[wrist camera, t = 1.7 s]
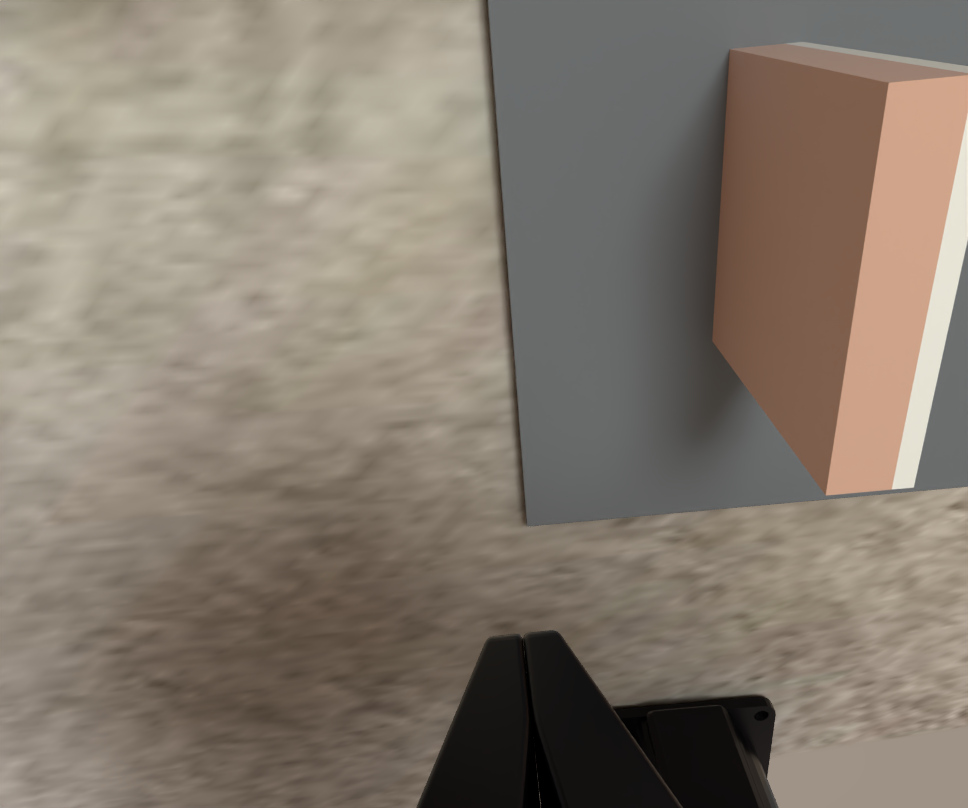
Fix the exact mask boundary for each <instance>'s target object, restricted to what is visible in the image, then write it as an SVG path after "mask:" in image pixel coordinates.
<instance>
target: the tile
mask: <svg viewBox="0 0 968 808" xmlns="http://www.w3.org/2000/svg"><path fill="white" fill-rule="evenodd" d="M967 241H968V66H963V65H956V64H950V63H943V62H936V61H929V60H923V59H916V58H909V57H902V56H895V55H889V54H882V53H875V52H868V51H861V50H855V49H848V48H841V47H834V46H827V45H821V44H814V43H807V42H796V43H786V44H776V45H766V46H755V47H745V48H735V49H730V54H729V70H728V87H727V104H726V120H725V137H724V154H723V170H722V187H721V204H720V220H719V237H718V254H717V270H716V287H715V304H714V320H713V337H712V341H713V343H714V344H715V346H716V347H717V348H718V350H719V351H720V352H721V354H722V355H723V356H724V358H725V359H726V360H727V362H728V363H729V365H730V366H731V367H732V369H733V370H734V371H735V373H736V374H737V375H738V377H739V378H740V380H741V381H742V382H743V384H744V385H745V386H746V388H747V389H748V390H749V392H750V393H751V395H752V396H753V397H754V399H755V400H756V401H757V403H758V404H759V405H760V407H761V408H762V409H763V411H764V412H765V414H766V415H767V416H768V418H769V419H770V420H771V422H772V423H773V424H774V426H775V427H776V429H777V430H778V431H779V433H780V434H781V435H782V437H783V438H784V439H785V441H786V442H787V443H788V445H789V446H790V448H791V449H792V450H793V452H794V453H795V454H796V456H797V457H798V458H799V460H800V461H801V463H802V464H803V465H804V467H805V468H806V469H807V471H808V472H809V473H810V475H811V476H812V478H813V479H814V480H815V482H816V483H817V484H818V486H819V487H820V488H821V490H822V491H823V492H824V494H825V495H837V494H848V493H859V492H870V491H881V490H892V489H903V488H914V484H915V479H916V475H917V470H918V466H919V461H920V456H921V452H922V447H923V443H924V438H925V434H926V429H927V424H928V420H929V415H930V411H931V406H932V401H933V397H934V392H935V388H936V383H937V379H938V374H939V369H940V365H941V360H942V356H943V351H944V346H945V342H946V337H947V333H948V328H949V324H950V319H951V314H952V310H953V305H954V301H955V296H956V291H957V287H958V282H959V278H960V273H961V269H962V264H963V259H964V255H965V250H966V246H967Z"/></svg>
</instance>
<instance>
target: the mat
mask: <svg viewBox="0 0 968 808" xmlns="http://www.w3.org/2000/svg"><path fill="white" fill-rule="evenodd" d="M487 5H488V19H489V32H490V45H491V59H492V72H493V85H494V98H495V112H496V125H497V138H498V152H499V165H500V178H501V191H502V205H503V218H504V231H505V245H506V258H507V271H508V284H509V298H510V311H511V324H512V338H513V351H514V364H515V378H516V391H517V404H518V417H519V431H520V444H521V457H522V471H523V484H524V497H525V510H526V520H527V526H538V525H549V524H560V523H571V522H582V521H593V520H604V519H616V518H627V517H638V516H649V515H660V514H671V513H682V512H693V511H704V510H715V509H726V508H737V507H748V506H759V505H770V504H781V503H792V502H803V501H814V500H825V499H836V498H847V497H858V496H869V495H880V494H891V493H902V492H913V491H924V490H935V489H946V488H957V487H968V241H967V246H966V250H965V255H964V259H963V264H962V269H961V273H960V278H959V282H958V287H957V291H956V296H955V301H954V305H953V310H952V314H951V319H950V324H949V328H948V333H947V337H946V342H945V346H944V351H943V356H942V360H941V365H940V369H939V374H938V379H937V383H936V388H935V392H934V397H933V401H932V406H931V411H930V415H929V420H928V424H927V429H926V434H925V438H924V443H923V447H922V452H921V456H920V461H919V466H918V470H917V475H916V479H915V484H914V488H903V489H892V490H881V491H870V492H859V493H848V494H837V495H825V494H824V492H823V491H822V490H821V488H820V487H819V486H818V484H817V483H816V482H815V480H814V479H813V478H812V476H811V475H810V473H809V472H808V471H807V469H806V468H805V467H804V465H803V464H802V463H801V461H800V460H799V458H798V457H797V456H796V454H795V453H794V452H793V450H792V449H791V448H790V446H789V445H788V443H787V442H786V441H785V439H784V438H783V437H782V435H781V434H780V433H779V431H778V430H777V429H776V427H775V426H774V424H773V423H772V422H771V420H770V419H769V418H768V416H767V415H766V414H765V412H764V411H763V409H762V408H761V407H760V405H759V404H758V403H757V401H756V400H755V399H754V397H753V396H752V395H751V393H750V392H749V390H748V389H747V388H746V386H745V385H744V384H743V382H742V381H741V380H740V378H739V377H738V375H737V374H736V373H735V371H734V370H733V369H732V367H731V366H730V365H729V363H728V362H727V360H726V359H725V358H724V356H723V355H722V354H721V352H720V351H719V350H718V348H717V347H716V346H715V344H714V343H713V341H712V337H713V320H714V304H715V287H716V270H717V254H718V237H719V220H720V204H721V187H722V170H723V154H724V137H725V120H726V104H727V87H728V70H729V54H730V49H735V48H745V47H755V46H766V45H776V44H786V43H796V42H807V43H814V44H821V45H827V46H834V47H841V48H848V49H855V50H861V51H868V52H875V53H882V54H889V55H895V56H902V57H909V58H916V59H923V60H929V61H936V62H943V63H950V64H956V65H963V66H968V0H487Z"/></svg>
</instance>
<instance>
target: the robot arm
mask: <svg viewBox="0 0 968 808" xmlns="http://www.w3.org/2000/svg"><path fill="white" fill-rule="evenodd" d="M523 643H524V646H523ZM524 652H525V655H524ZM525 662H526V664H525ZM526 672H527V673H526ZM775 715H776V714H775V710H774V708H773V705H772V703H771V701H770V700H769V699H767V698H765V697H752V698H740V699H729V700H717V701H706V702H695V703H683V704H672V705H660V706H649V707H638V708H626V709H615V710H613V708H612V707H611V705H610V704H609V702H608V701H607V700H606V698H605V697H604V695H603V694H602V692H601V691H600V690H599V688H598V687H597V685H596V684H595V683H594V681H593V680H592V678H591V677H590V675H589V674H588V673H587V671H586V670H585V668H584V667H583V666H582V664H581V663H580V661H579V660H578V658H577V657H576V656H575V654H574V653H573V651H572V650H571V649H570V647H569V646H568V644H567V643H566V641H565V640H564V639H563V637H562V636H561V635H560V634H559V633H558V632H557V631H555V630H550V631H540V632H530V633H527V634H525V635H524V638H523V639H522V637H521V636H520V635H519V634H510V635H500V636H492V637H489V638H488V639H487V641H486V642H485V644H484V646H483V649H482V651H481V653H480V656H479V658H478V661H477V663H476V666H475V668H474V670H473V673H472V675H471V678H470V680H469V682H468V685H467V687H466V690H465V692H464V694H463V697H462V699H461V702H460V704H459V706H458V709H457V711H456V714H455V716H454V718H453V721H452V723H451V726H450V728H449V731H448V733H447V735H446V738H445V740H444V743H443V745H442V747H441V750H440V752H439V755H438V757H437V759H436V762H435V764H434V767H433V769H432V771H431V774H430V776H429V779H428V781H427V783H426V786H425V788H424V791H423V793H422V796H421V798H420V800H419V803H418V805H417V808H778V806H777V803H776V800H775V798H774V795H773V793H772V790H771V788H770V785H769V783H768V780H767V773H768V765H769V759H770V751H771V744H772V737H773V730H774V722H775ZM535 756H536V757H535ZM536 765H537V767H536ZM537 774H538V777H537ZM538 783H539V786H538ZM539 793H540V796H539ZM540 802H541V806H540Z"/></svg>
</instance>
